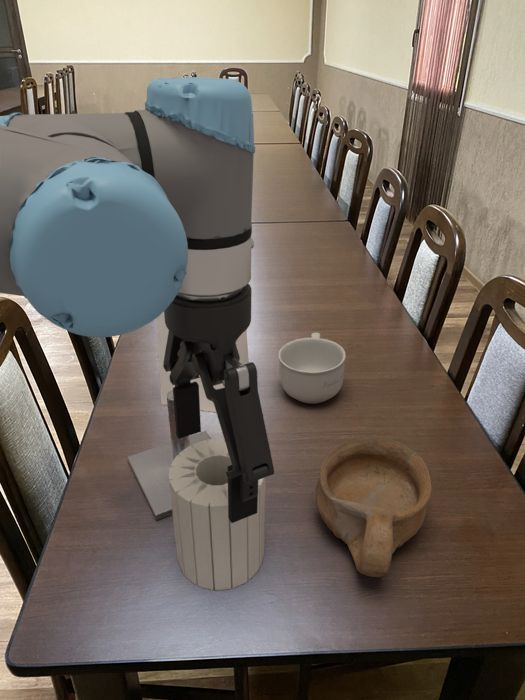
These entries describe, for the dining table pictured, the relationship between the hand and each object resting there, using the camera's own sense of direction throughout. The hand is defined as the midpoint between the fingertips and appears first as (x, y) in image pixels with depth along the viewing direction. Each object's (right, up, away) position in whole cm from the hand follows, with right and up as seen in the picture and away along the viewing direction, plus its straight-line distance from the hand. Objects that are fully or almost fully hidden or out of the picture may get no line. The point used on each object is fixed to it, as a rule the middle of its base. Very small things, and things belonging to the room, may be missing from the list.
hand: (213, 471), depth 56 cm
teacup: (+14, +6, +36) cm, 39 cm away
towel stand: (-6, -4, +18) cm, 19 cm away
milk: (-4, +6, +35) cm, 36 cm away
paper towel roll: (0, -11, +7) cm, 13 cm away
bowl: (+18, -10, +10) cm, 23 cm away
